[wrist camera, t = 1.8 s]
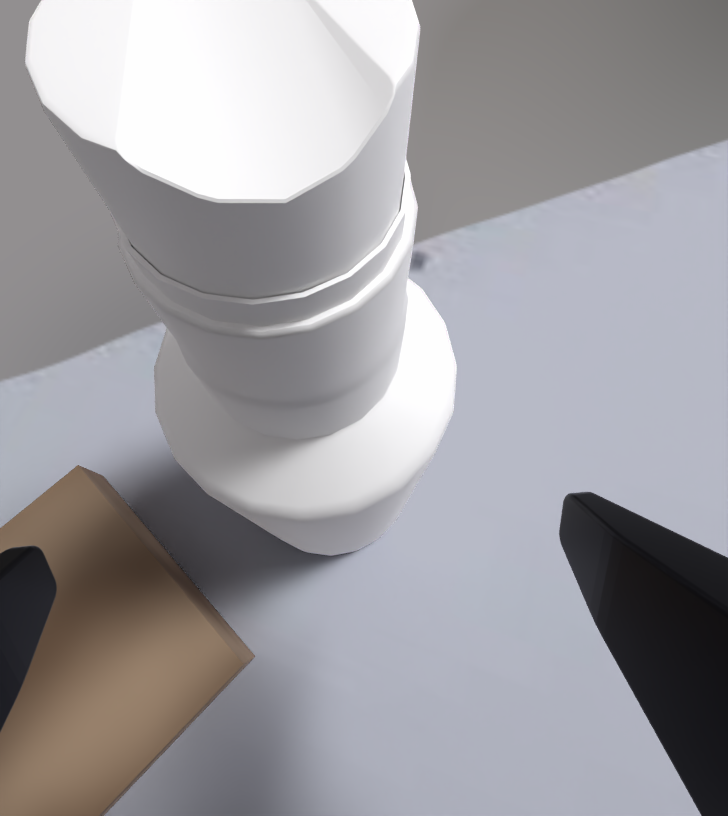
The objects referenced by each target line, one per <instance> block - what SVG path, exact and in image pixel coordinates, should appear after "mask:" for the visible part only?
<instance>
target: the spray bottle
mask: <svg viewBox="0 0 728 816" xmlns="http://www.w3.org/2000/svg"><path fill="white" fill-rule="evenodd" d="M419 36H420V25H419V21H418V18H417V15H416V12H415V9H414V6H413V3H412V0H41V2H40V3H39V5H38V7H37V8H36V10H35V12H34V14H33V15H32V17H31V19H30V20H29V28H28V37H27V48H26V59H25V64H26V70H27V72H28V75H29V77H30V79H31V82H32V84H33V86H34V89H35V91H36V93H37V96H38V98H39V101H40V103H41V105H42V107H43V110H44V112H45V114H46V115H47V116H48V118H49V120H50V121H51V123H52V124H53V126H54V127H55V129H56V130H57V132H58V133H59V135H60V136H61V138H62V139H63V141H64V142H65V144H66V145H67V147H68V148H69V150H70V151H71V153H72V154H73V156H74V157H75V159H76V161H77V162H78V163H79V165H80V166H81V168H82V169H83V171H84V173H85V174H86V175H87V177H88V179H89V180H90V182H91V183H92V185H93V186H94V188H95V189H96V191H97V192H98V194H99V195H100V197H101V198H102V200H103V201H104V203H105V204H106V206H107V208H108V209H109V211H110V212H111V216H112V218H113V220H114V223H115V225H116V227H117V229H118V247H119V250H120V252H121V254H122V256H123V259H124V261H125V263H126V266H127V268H128V270H129V272H130V275H131V277H132V279H133V282H134V284H135V285H136V286H137V288H138V289H139V290H140V292H141V293H142V295H143V296H144V297H145V298H146V300H147V301H148V302H149V304H150V305H151V307H152V308H153V309H154V310H155V312H156V313H157V315H158V316H159V318H160V319H161V320H162V322H163V323H164V324H165V326H166V327H167V329H166V332H165V335H164V338H163V341H162V345H161V348H160V351H159V354H158V357H157V360H156V363H155V366H154V380H155V412H156V414H157V417H158V420H159V422H160V425H161V427H162V430H163V432H164V434H165V437H166V439H167V442H168V444H169V447H170V449H171V451H172V454H173V456H174V459H175V460H176V461H177V462H178V463H179V464H180V465H181V466H182V467H183V469H184V470H185V471H186V472H187V473H188V474H189V475H190V476H191V477H192V478H193V479H194V480H195V481H196V482H197V484H198V485H199V486H200V487H201V488H202V489H203V490H204V491H205V492H206V493H207V494H208V495H210V496H211V497H213V498H215V499H216V500H218V501H219V502H221V503H223V504H224V505H226V506H227V507H229V508H231V509H232V510H234V511H235V512H237V513H239V514H240V515H242V516H244V517H245V518H247V519H248V520H250V521H252V522H253V523H255V524H256V525H258V526H260V527H261V528H263V529H265V530H266V531H268V532H269V533H271V534H273V535H274V536H276V537H277V538H279V539H281V540H282V541H284V542H286V543H288V544H290V545H292V546H294V547H296V548H298V549H300V550H302V551H304V552H308V553H315V554H322V555H329V556H333V555H338V554H343V553H349V552H354V551H358V550H360V549H361V548H363V547H365V546H367V545H369V544H370V543H372V542H374V541H376V540H378V539H379V538H381V536H382V535H383V534H384V533H385V532H386V531H387V530H388V529H389V528H390V527H391V526H392V524H393V523H394V522H395V521H396V520H397V519H398V517H399V516H400V514H401V512H402V510H403V509H404V507H405V505H406V503H407V502H408V500H409V498H410V496H411V495H412V493H413V491H414V490H415V488H416V486H417V484H418V483H419V481H420V479H421V477H422V476H423V474H424V472H425V470H426V469H427V467H428V465H429V464H430V462H431V460H432V458H433V457H434V455H435V453H436V450H437V448H438V446H439V444H440V442H441V439H442V437H443V435H444V433H445V430H446V428H447V426H448V424H449V421H450V419H451V417H452V415H453V412H454V399H455V386H456V373H457V366H456V361H455V358H454V354H453V350H452V347H451V343H450V339H449V336H448V332H447V328H446V325H445V322H444V321H443V319H442V318H441V316H440V315H439V313H438V312H437V310H436V309H435V307H434V306H433V304H432V303H431V301H430V300H429V298H428V297H427V296H426V294H425V293H424V291H423V290H422V288H420V287H419V286H418V285H416V284H415V283H414V282H413V281H411V280H410V279H409V278H408V274H409V268H410V262H411V256H412V250H413V243H414V235H415V227H416V219H417V211H418V205H417V201H416V198H415V194H414V191H413V187H412V183H411V180H410V176H411V174H410V171H409V167H408V164H407V160H406V153H407V144H408V135H409V126H410V117H411V108H412V99H413V89H414V81H415V72H416V63H417V54H418V45H419Z"/></svg>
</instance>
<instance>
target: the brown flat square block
mask: <svg viewBox="0 0 728 816" xmlns="http://www.w3.org/2000/svg"><path fill="white" fill-rule="evenodd" d="M32 545H34V546H38V547H39V548H40V549H41V550H42V551H43V553H44V555H45V557H46V560H47V562H48V564H49V566H50V569H51V571H52V573H53V576H54V578H55V580H56V585H57V592H56V597H55V600H54V602H53V605H52V608H51V611H50V613H49V616H48V619H47V621H46V624H45V627H44V630H43V632H42V635H41V638H40V640H39V643H38V646H37V648H36V651H35V654H34V657H33V659H32V662H31V665H30V667H29V670H28V673H27V675H26V678H25V680H24V683H23V685H22V688H21V690H20V692H19V694H18V696H17V699H16V701H15V703H14V705H13V707H12V709H11V711H10V713H9V715H8V718H7V720H6V722H5V724H4V726H3V728H2V730H1V732H0V816H104V815H105V814H106V813H107V812H108V811H109V810H110V808H111V807H112V806H113V805H114V804H115V803H116V802H117V801H118V800H119V799H120V798H121V797H122V796H123V795H124V794H125V793H126V792H127V791H128V790H129V789H130V787H131V786H132V785H133V784H134V783H135V782H136V781H137V780H138V779H139V778H140V777H141V776H142V775H143V774H144V773H145V772H146V771H147V770H148V769H149V767H150V766H151V765H152V764H153V763H154V762H155V761H156V760H157V759H158V758H159V757H160V756H161V755H162V754H163V753H164V752H165V751H166V750H167V749H168V748H169V746H170V745H171V744H172V743H173V742H174V741H175V740H176V739H177V738H178V737H179V736H180V735H181V734H182V733H183V732H184V731H185V730H186V729H187V728H188V726H189V725H190V724H191V723H192V722H193V721H194V720H195V719H196V718H197V717H198V716H199V715H200V714H201V713H202V712H203V711H204V710H205V709H206V708H207V707H208V705H209V704H210V703H211V702H212V701H213V700H214V699H215V698H216V697H217V696H218V695H219V694H220V693H221V692H222V691H223V690H224V689H225V688H226V687H227V685H228V684H229V683H230V682H231V681H232V680H233V679H234V678H235V677H236V676H237V675H238V674H239V673H240V672H241V671H242V670H243V669H244V668H245V667H246V666H247V664H248V663H249V662H250V661H251V660H252V659H253V658H254V657H255V656H254V654H253V653H252V652H251V651H250V650H249V648H248V647H247V646H246V645H245V644H244V643H243V641H242V640H241V639H240V638H239V637H238V635H237V634H236V633H235V632H234V631H233V629H232V628H231V627H230V626H229V625H228V624H227V622H226V621H225V620H224V619H223V618H222V616H221V615H220V614H219V613H218V612H217V610H216V609H215V608H214V607H213V606H212V605H211V603H210V602H209V601H208V600H207V599H206V597H205V596H204V595H203V594H202V593H201V592H200V590H199V589H198V588H197V587H196V586H195V584H194V583H193V582H192V581H191V580H190V578H189V577H188V576H187V575H186V574H185V573H184V571H183V570H182V569H181V568H180V567H179V565H178V564H177V563H176V562H175V561H174V559H173V558H172V557H171V556H170V555H169V554H168V552H167V551H166V550H165V549H164V548H163V546H162V545H161V544H160V543H159V542H158V540H157V539H156V538H155V537H154V536H153V535H152V533H151V532H150V531H149V530H148V529H147V527H146V526H145V525H144V524H143V523H142V521H141V520H140V519H139V518H138V517H137V516H136V514H135V513H134V512H133V511H132V510H131V508H130V507H129V506H128V505H127V504H126V503H125V501H124V500H123V499H122V498H121V497H120V495H119V494H118V493H117V492H116V491H115V489H114V488H113V487H112V486H111V485H110V484H109V482H108V481H107V480H106V479H105V478H104V476H102V475H100V474H97V473H95V472H93V471H90V470H88V469H86V468H84V467H81V466H79V465H78V466H76V467H75V468H74V469H73V470H71V471H70V472H69V473H68V474H67V475H65V476H64V477H63V478H62V479H60V480H59V481H58V482H57V483H55V484H54V485H53V486H52V487H51V488H49V489H48V490H47V491H46V492H44V493H43V494H42V495H41V496H40V497H38V498H37V499H36V500H35V501H33V502H32V503H31V504H30V505H28V506H27V507H26V508H25V509H24V510H22V511H21V512H20V513H19V514H17V515H16V516H15V517H14V518H13V519H11V520H10V521H9V522H8V523H6V524H5V525H4V526H3V527H1V528H0V553H2V552H3V551H5V550H7V549H9V548H13V547H21V546H32Z"/></svg>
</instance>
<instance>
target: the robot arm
mask: <svg viewBox="0 0 728 816" xmlns="http://www.w3.org/2000/svg"><path fill="white" fill-rule="evenodd" d="M559 535H560V541H561V545H562V547H563V550H564V552H565V554H566V557H567V559H568V561H569V564H570V566H571V568H572V571H573V573H574V575H575V578H576V580H577V583H578V585H579V587H580V590H581V592H582V594H583V597H584V599H585V601H586V604H587V606H588V608H589V611H590V613H591V615H592V617H593V619H594V622H595V624H596V626H597V628H598V630H599V632H600V633H601V635H602V637H603V639H604V641H605V643H606V644H607V646H608V648H609V650H610V652H611V653H612V655H613V657H614V659H615V661H616V662H617V664H618V666H619V668H620V670H621V671H622V673H623V675H624V677H625V679H626V680H627V682H628V684H629V686H630V688H631V689H632V691H633V693H634V695H635V697H636V698H637V700H638V702H639V704H640V706H641V708H642V709H643V711H644V713H645V715H646V717H647V718H648V720H649V722H650V724H651V726H652V727H653V729H654V731H655V733H656V735H657V736H658V738H659V740H660V742H661V744H662V745H663V747H664V749H665V751H666V753H667V754H668V756H669V758H670V760H671V762H672V763H673V765H674V767H675V769H676V771H677V772H678V774H679V776H680V778H681V780H682V781H683V783H684V785H685V787H686V789H687V790H688V792H689V794H690V796H691V798H692V799H693V801H694V803H695V805H696V807H697V808H698V810H699V812H700V814H701V816H728V558H727V557H725V556H723V555H721V554H719V553H717V552H715V551H713V550H711V549H709V548H707V547H704V546H702V545H700V544H698V543H696V542H694V541H692V540H690V539H688V538H686V537H684V536H681V535H679V534H677V533H675V532H673V531H671V530H669V529H667V528H665V527H663V526H661V525H659V524H656V523H654V522H652V521H650V520H648V519H646V518H644V517H642V516H640V515H638V514H636V513H634V512H631V511H629V510H627V509H625V508H623V507H621V506H619V505H617V504H615V503H613V502H611V501H609V500H606V499H604V498H602V497H600V496H598V495H596V494H594V493H592V492H580V493H570V494H568V495H567V496H566V497H565V499H564V502H563V509H562V516H561V523H560V530H559ZM56 592H57V585H56V580H55V578H54V576H53V573H52V571H51V569H50V566H49V564H48V562H47V560H46V557H45V555H44V553H43V551H42V550H41V549H40V548H39V547H38V546H34V545H32V546H21V547H13V548H9V549H7V550H5V551H3V552H2V553H0V732H1V730H2V728H3V726H4V724H5V722H6V720H7V718H8V715H9V713H10V711H11V709H12V707H13V705H14V703H15V701H16V699H17V696H18V694H19V692H20V690H21V688H22V685H23V683H24V680H25V678H26V675H27V673H28V670H29V667H30V665H31V662H32V659H33V657H34V654H35V651H36V648H37V646H38V643H39V640H40V638H41V635H42V632H43V630H44V627H45V624H46V621H47V619H48V616H49V613H50V611H51V608H52V605H53V602H54V600H55V597H56Z"/></svg>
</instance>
